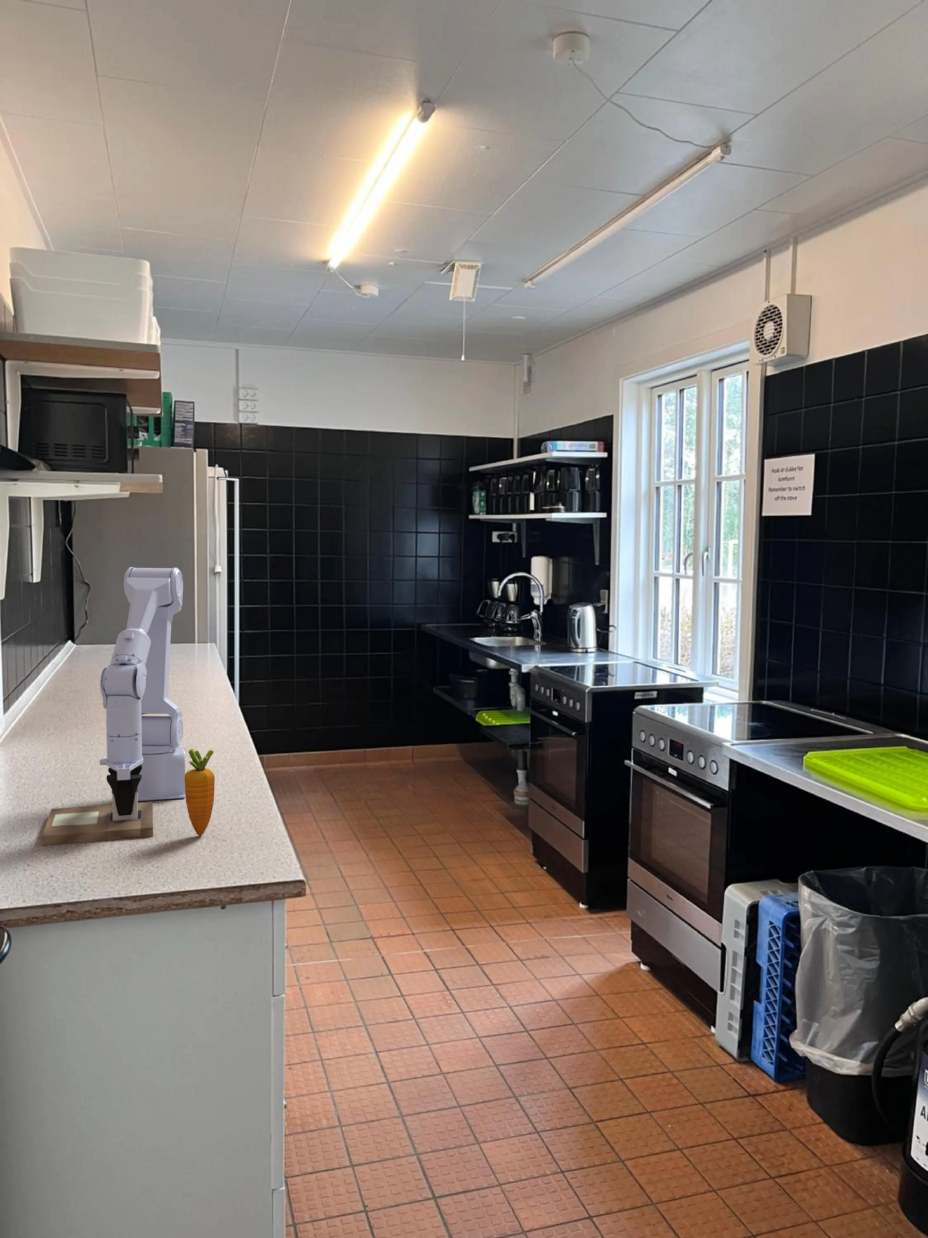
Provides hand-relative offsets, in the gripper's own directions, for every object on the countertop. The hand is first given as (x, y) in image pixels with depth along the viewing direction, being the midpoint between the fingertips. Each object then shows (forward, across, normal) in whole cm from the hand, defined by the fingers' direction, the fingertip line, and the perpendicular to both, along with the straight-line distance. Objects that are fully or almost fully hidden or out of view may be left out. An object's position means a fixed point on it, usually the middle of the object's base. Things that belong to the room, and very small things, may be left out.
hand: (125, 811), depth 163 cm
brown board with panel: (+2, 0, -4) cm, 5 cm away
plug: (+2, 0, 0) cm, 2 cm away
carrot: (+3, +10, +12) cm, 16 cm away
